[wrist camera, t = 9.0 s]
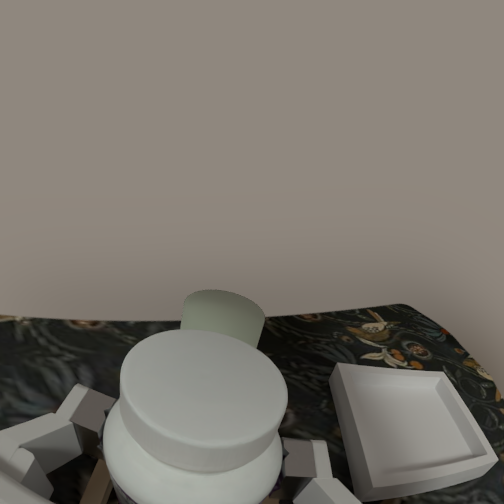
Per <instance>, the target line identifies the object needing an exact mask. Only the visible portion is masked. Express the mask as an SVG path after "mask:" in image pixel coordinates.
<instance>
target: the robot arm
mask: <svg viewBox="0 0 504 504" xmlns="http://www.w3.org/2000/svg"><path fill="white" fill-rule="evenodd" d="M117 401H118V400H117V399H114V398H112V397H109V396H107V395H104V394H102V393H99V392H97V391H94V390H92V389H90V388H87V387H85V386H83V385H80V384H77V385H76V386H74V387H73V389H72V390H71V392H70V393H69V395H68V396H67V397H66V399H65V400H64V402H63V403H62V405H61V406H60V408H59V409H58V411H57V412H56V414H54V413H49V414H46V415H44V416H41V417H38V418H36V419H33V420H30V421H27V422H25V423H22V424H19V425H16V426H13V427H10V428H8V429H5V430H2V431H0V504H55V503H53V502H51V501H49V499H50V497H51V495H52V493H53V490H54V488H53V486H52V484H51V483H50V481H49V480H48V478H47V477H46V474H48V473H49V472H51V471H53V470H55V469H57V468H58V467H60V466H62V465H64V464H65V463H67V462H69V461H70V460H72V459H74V458H75V457H77V456H79V455H81V454H82V452H83V453H85V454H88V455H90V456H93V457H95V458H98V459H101V460H103V461H105V455H104V450H103V432H104V426H105V422H106V419H107V417H108V415H109V412H110V410H111V409H112V407H113V406H114V404H115V403H116V402H117ZM280 439H281V444H282V465H281V470H280V473H279V476H278V479H277V481H276V484H275V486H274V487H273V489H272V490H271V492H270V493H269V499H279V500H293V503H294V504H362V503H361V502H360V501H359V500H358V499H357V498H356V497H355V496H354V495H353V494H352V493H351V492H350V491H349V490H348V489H347V488H346V487H345V486H344V485H343V484H342V483H341V482H340V481H339V480H338V479H337V478H333V477H332V471H331V465H330V460H329V455H328V449H327V444H326V442H325V441H323V440H309V439H297V438H286V437H281V438H280Z"/></svg>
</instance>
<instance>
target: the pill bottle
mask: <svg viewBox="0 0 504 504" xmlns="http://www.w3.org/2000/svg"><path fill="white" fill-rule="evenodd" d="M287 402H288V393H287V387H286V383H285V380H284V378H283V376H282V374H281V373H280V371H279V369H278V368H277V367H276V366H275V364H274V363H273V362H272V361H271V360H270V359H269V358H268V357H267V356H265V355H264V354H263V353H262V352H260V351H259V350H257V349H256V348H254V347H252V346H251V345H249V344H247V343H245V342H243V341H241V340H238V339H236V338H233V337H230V336H228V335H224V334H220V333H216V332H211V331H204V330H192V329H185V330H171V331H166V332H162V333H158V334H155V335H152V336H150V337H148V338H146V339H144V340H143V341H141V342H139V343H138V344H137V345H136V346H135V347H133V348H132V349H131V350H130V352H129V353H128V354H127V356H126V357H125V360H124V362H123V364H122V367H121V374H120V398H119V400H118V401H117V402H116V403H115V404H114V406H113V407H112V409H111V410H110V412H109V415H108V417H107V419H106V422H105V426H104V432H103V450H104V455H105V459H106V465H107V467H108V470H109V473H110V477H111V480H112V484H113V486H114V490H115V492H116V496H117V498H118V501H119V504H261V503H262V502H263V501H264V500H265V498H266V497H267V496H268V494H269V493H270V492H271V490H272V489H273V487H274V486H275V484H276V481H277V479H278V476H279V473H280V470H281V465H282V444H281V439H280V436H279V433H278V431H277V430H278V428H279V426H280V423H281V421H282V418H283V416H284V414H285V411H286V407H287Z"/></svg>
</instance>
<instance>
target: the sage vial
mask: <svg viewBox="0 0 504 504" xmlns="http://www.w3.org/2000/svg"><path fill="white" fill-rule="evenodd" d="M264 321H265V315H264V313H263V311H262V309H261V308H260V307H259V306H258V305H257V304H255V303H254V302H252V301H251V300H249V299H247V298H245V297H243V296H241V295H238V294H235V293H231V292H227V291H221V290H203V291H198V292H194V293H192V294H190V295H189V296H188V297H187V298H186V299H185V301H184V307H183V314H182V321H181V328H180V330H185V329H192V330H204V331H211V332H216V333H220V334H224V335H228V336H230V337H233V338H236V339H238V340H241V341H243V342H245V343H247V344H249V345H251V346H252V347H254V348H257V345H258V341H259V338H260V335H261V331H262V328H263V325H264Z"/></svg>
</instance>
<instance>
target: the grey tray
mask: <svg viewBox="0 0 504 504" xmlns="http://www.w3.org/2000/svg"><path fill="white" fill-rule="evenodd" d="M328 381H329V385H330V389H331V393H332V397H333V401H334V405H335V409H336V413H337V417H338V422H339V426H340V430H341V434H342V439H343V443H344V447H345V452H346V456H347V461H348V465H349V470H350V474H351V479H352V484H353V489H354V494H355V497H356V498H357V499H358V500H359V501H360V502H368V501H376V500H384V499H391V498H397V497H403V496H409V495H414V494H419V493H424V492H428V491H432V490H436V489H440V488H444V487H448V486H452V485H455V484H459V483H462V482H465V481H468V480H472V479H475V478H478V477H480V476H483V475H484V474H485V473H486V472H487V471H488V470H489V469H490V468H491V467H492V466H493V465H494V464H495V463H496V462H497V461H498V458H497V456H496V454H495V453H494V451H493V449H492V447H491V446H490V444H489V442H488V441H487V439H486V437H485V436H484V434H483V432H482V431H481V429H480V427H479V426H478V424H477V422H476V421H475V419H474V417H473V416H472V414H471V413H470V411H469V410H468V408H467V406H466V405H465V403H464V402H463V400H462V399H461V397H460V396H459V394H458V393H457V391H456V390H455V388H454V387H453V385H452V384H451V382H450V381H449V379H448V378H447V376H446V375H445V373H444V372H432V371H416V370H402V369H390V368H380V367H370V366H361V365H353V364H345V363H337V364H336V366H335V368H334V370H333V372H332V374H331V376H330V378H329V380H328Z"/></svg>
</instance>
